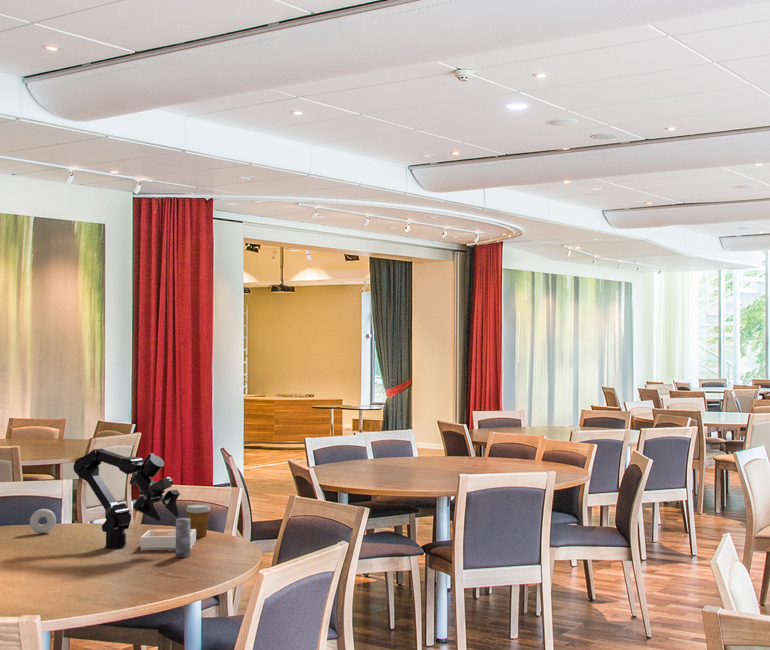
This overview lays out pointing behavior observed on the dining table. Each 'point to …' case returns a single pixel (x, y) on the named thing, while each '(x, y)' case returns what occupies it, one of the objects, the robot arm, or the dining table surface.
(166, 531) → the terracotta cube
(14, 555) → the dining table surface
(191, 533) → the tote
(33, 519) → the donut
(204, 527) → the disposable coffee cup
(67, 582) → the dining table surface
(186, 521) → the slate peg
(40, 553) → the dining table surface
